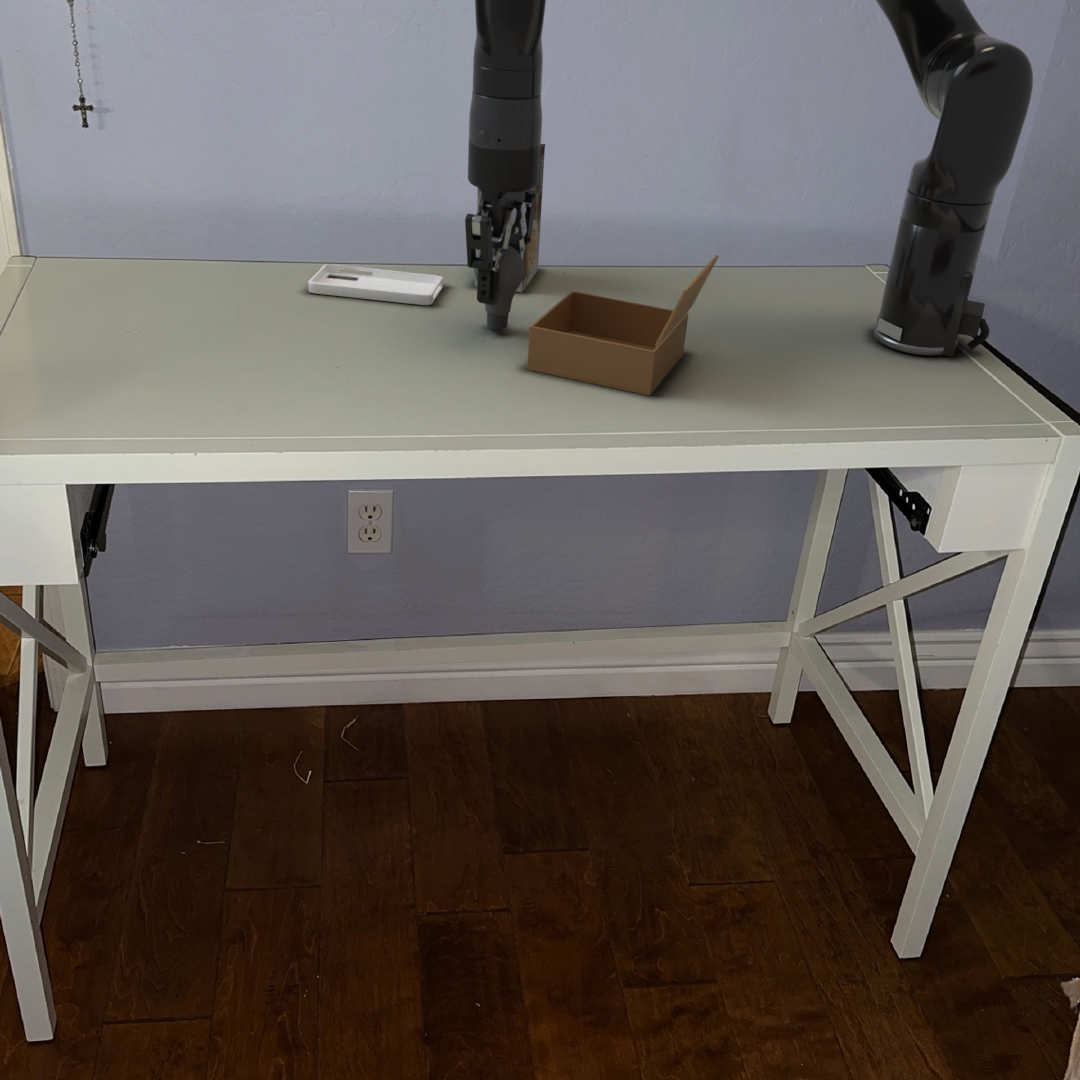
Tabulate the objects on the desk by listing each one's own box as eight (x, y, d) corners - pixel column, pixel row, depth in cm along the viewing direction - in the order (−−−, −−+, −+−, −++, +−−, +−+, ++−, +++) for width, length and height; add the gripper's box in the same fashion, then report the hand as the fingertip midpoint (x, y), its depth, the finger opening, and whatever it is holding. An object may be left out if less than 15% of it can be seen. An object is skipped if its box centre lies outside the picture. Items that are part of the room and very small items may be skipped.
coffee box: (490, 264, 151) (495, 137, 143) (538, 270, 150) (546, 143, 142) (473, 287, 144) (477, 154, 135) (523, 293, 143) (531, 160, 134)
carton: (683, 354, 129) (688, 313, 127) (649, 395, 119) (655, 352, 117) (569, 331, 133) (572, 290, 131) (527, 369, 123) (529, 326, 120)
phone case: (307, 293, 138) (430, 306, 137) (306, 282, 138) (430, 295, 136) (325, 273, 145) (443, 286, 143) (325, 263, 144) (444, 275, 143)
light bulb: (492, 344, 128) (495, 255, 123) (462, 328, 132) (464, 241, 127) (531, 334, 131) (536, 247, 126) (501, 319, 135) (505, 234, 130)
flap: (688, 307, 126) (690, 308, 126) (654, 345, 116) (657, 346, 116) (716, 254, 122) (719, 255, 122) (684, 289, 112) (687, 290, 112)
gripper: (511, 157, 114) (504, 321, 123) (563, 130, 125) (553, 282, 134) (441, 146, 116) (439, 308, 125) (499, 120, 127) (493, 270, 136)
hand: (498, 293), depth 129 cm, fingers closed on light bulb, 5 cm apart
